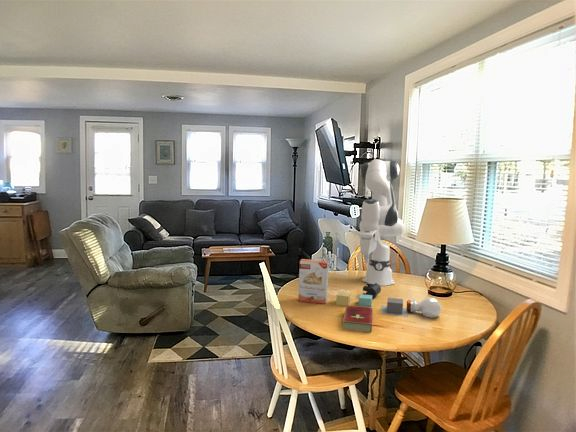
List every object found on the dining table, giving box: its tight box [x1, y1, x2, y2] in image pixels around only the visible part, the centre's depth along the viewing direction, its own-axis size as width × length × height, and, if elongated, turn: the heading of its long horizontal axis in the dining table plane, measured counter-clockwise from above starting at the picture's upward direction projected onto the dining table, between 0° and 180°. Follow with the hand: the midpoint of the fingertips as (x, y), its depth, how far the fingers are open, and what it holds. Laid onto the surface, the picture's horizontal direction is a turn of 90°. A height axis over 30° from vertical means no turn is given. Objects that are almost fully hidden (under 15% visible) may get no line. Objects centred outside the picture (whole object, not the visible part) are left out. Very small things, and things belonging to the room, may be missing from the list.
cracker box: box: [297, 258, 330, 305], centre depth 205 cm, size 14×6×21 cm, turn 78°
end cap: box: [362, 283, 382, 300], centre depth 215 cm, size 10×7×7 cm
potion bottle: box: [406, 296, 442, 319], centre depth 189 cm, size 9×10×15 cm
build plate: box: [380, 305, 409, 318], centre depth 193 cm, size 12×12×1 cm
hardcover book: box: [342, 304, 373, 333], centre depth 181 cm, size 12×21×4 cm, turn 168°
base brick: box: [386, 297, 404, 314], centre depth 193 cm, size 7×7×5 cm
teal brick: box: [358, 293, 373, 307], centre depth 201 cm, size 6×6×5 cm
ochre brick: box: [335, 291, 351, 307], centre depth 204 cm, size 6×6×5 cm
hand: (368, 261), depth 200 cm, fingers open, 8 cm apart
